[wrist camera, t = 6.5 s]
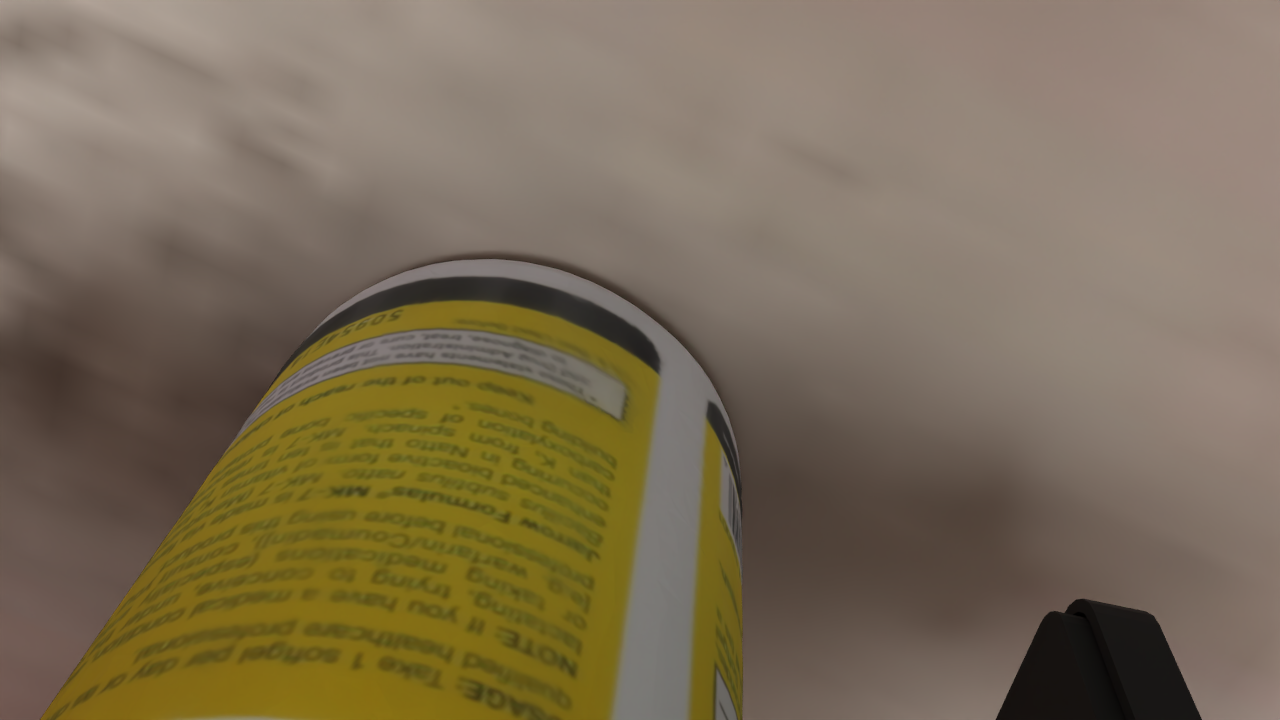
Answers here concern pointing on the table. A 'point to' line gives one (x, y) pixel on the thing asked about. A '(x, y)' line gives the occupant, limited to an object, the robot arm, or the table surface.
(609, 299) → the supplement bottle
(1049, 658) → the robot arm
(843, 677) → the table surface
